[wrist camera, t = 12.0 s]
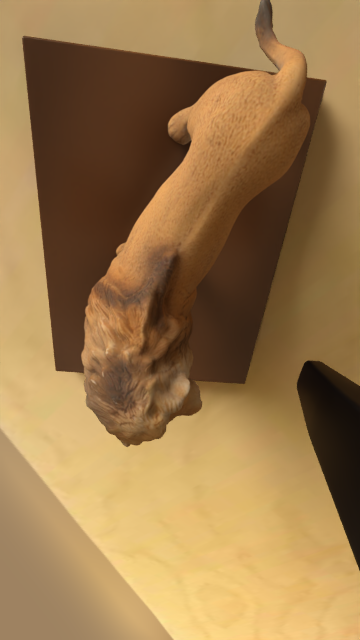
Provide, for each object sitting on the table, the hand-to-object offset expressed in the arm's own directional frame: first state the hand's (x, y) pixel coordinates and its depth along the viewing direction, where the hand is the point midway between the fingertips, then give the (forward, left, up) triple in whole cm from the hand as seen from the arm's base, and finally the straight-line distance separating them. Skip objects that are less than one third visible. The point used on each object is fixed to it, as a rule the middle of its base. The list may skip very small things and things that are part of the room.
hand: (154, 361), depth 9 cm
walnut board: (0, 0, -10) cm, 10 cm away
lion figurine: (-1, -3, -8) cm, 9 cm away
